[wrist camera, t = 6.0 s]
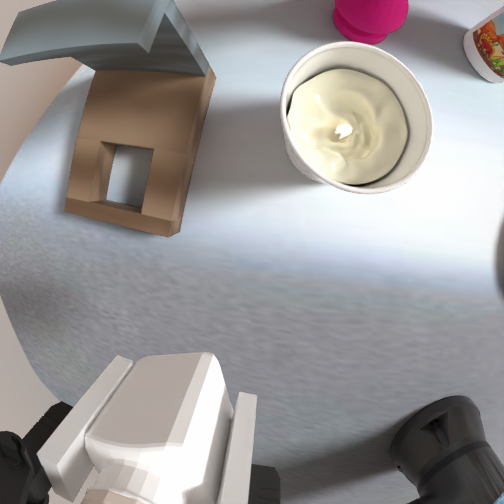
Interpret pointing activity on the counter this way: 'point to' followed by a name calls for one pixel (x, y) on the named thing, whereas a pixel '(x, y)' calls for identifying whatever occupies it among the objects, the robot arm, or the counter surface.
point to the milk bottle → (487, 47)
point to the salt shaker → (162, 433)
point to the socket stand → (125, 99)
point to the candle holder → (355, 118)
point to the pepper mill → (369, 18)
